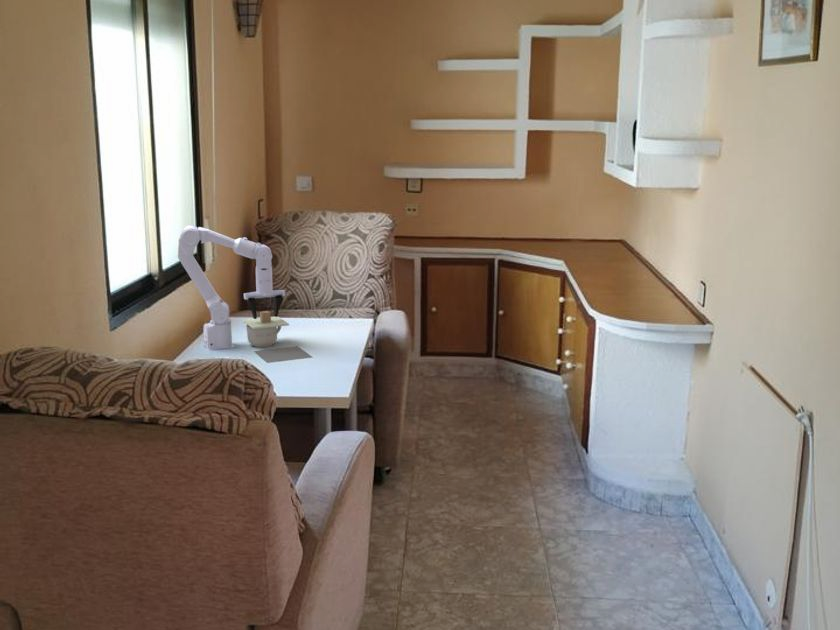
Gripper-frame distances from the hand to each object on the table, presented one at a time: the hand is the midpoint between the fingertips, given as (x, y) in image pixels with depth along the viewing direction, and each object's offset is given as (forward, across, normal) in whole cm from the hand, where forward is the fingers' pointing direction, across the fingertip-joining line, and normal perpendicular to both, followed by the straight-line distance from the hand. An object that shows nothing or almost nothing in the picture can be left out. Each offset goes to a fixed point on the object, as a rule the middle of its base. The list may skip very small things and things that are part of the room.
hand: (265, 317), depth 300 cm
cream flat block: (+2, 0, 0) cm, 2 cm away
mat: (+10, +1, -16) cm, 19 cm away
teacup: (+10, 0, 0) cm, 10 cm away
